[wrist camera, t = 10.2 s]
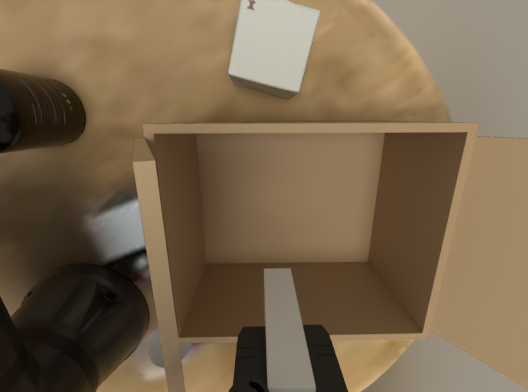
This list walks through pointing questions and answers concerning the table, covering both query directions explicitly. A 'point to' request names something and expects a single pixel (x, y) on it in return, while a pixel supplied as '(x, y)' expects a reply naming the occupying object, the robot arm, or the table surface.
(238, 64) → the product box
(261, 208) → the carton
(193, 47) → the table surface
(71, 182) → the table surface
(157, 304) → the flap
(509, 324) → the flap
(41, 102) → the supplement bottle
